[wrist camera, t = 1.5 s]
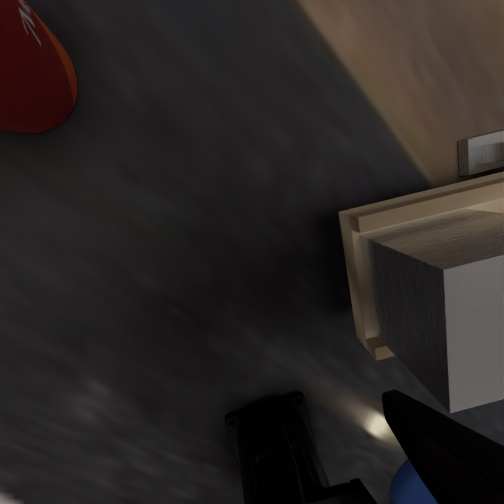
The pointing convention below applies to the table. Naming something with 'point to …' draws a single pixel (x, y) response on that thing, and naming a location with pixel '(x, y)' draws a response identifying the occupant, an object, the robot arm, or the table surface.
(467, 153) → the pivot stand
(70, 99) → the paper cup
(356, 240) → the oak beam
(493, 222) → the metal block
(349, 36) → the table surface
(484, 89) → the table surface
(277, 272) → the table surface
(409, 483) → the water bottle
